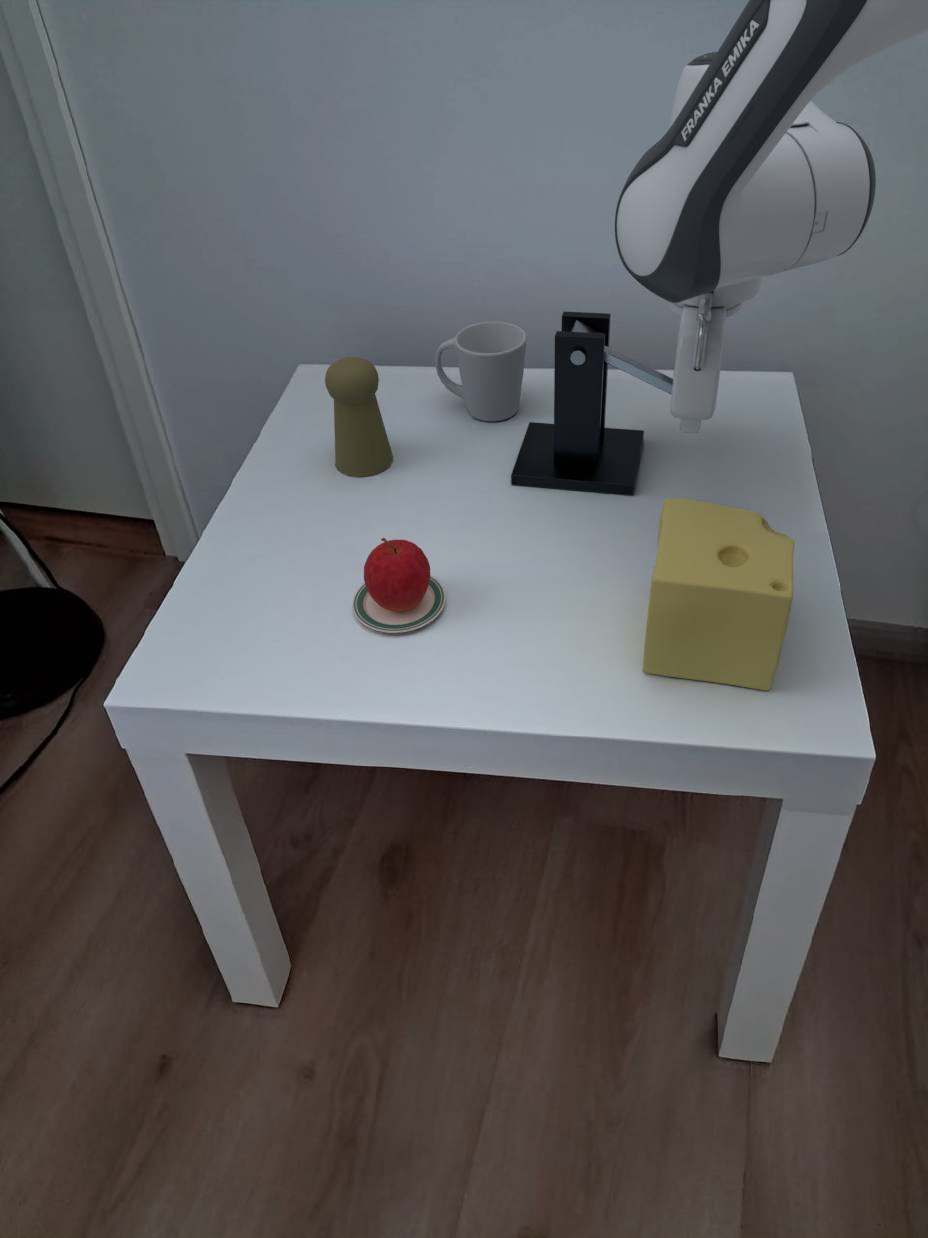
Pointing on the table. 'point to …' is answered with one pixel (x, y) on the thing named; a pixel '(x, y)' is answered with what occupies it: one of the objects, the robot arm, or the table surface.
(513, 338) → the cup
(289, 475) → the table surface
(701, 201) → the robot arm
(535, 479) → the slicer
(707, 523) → the cheese
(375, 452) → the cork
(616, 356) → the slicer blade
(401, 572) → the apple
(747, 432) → the table surface
